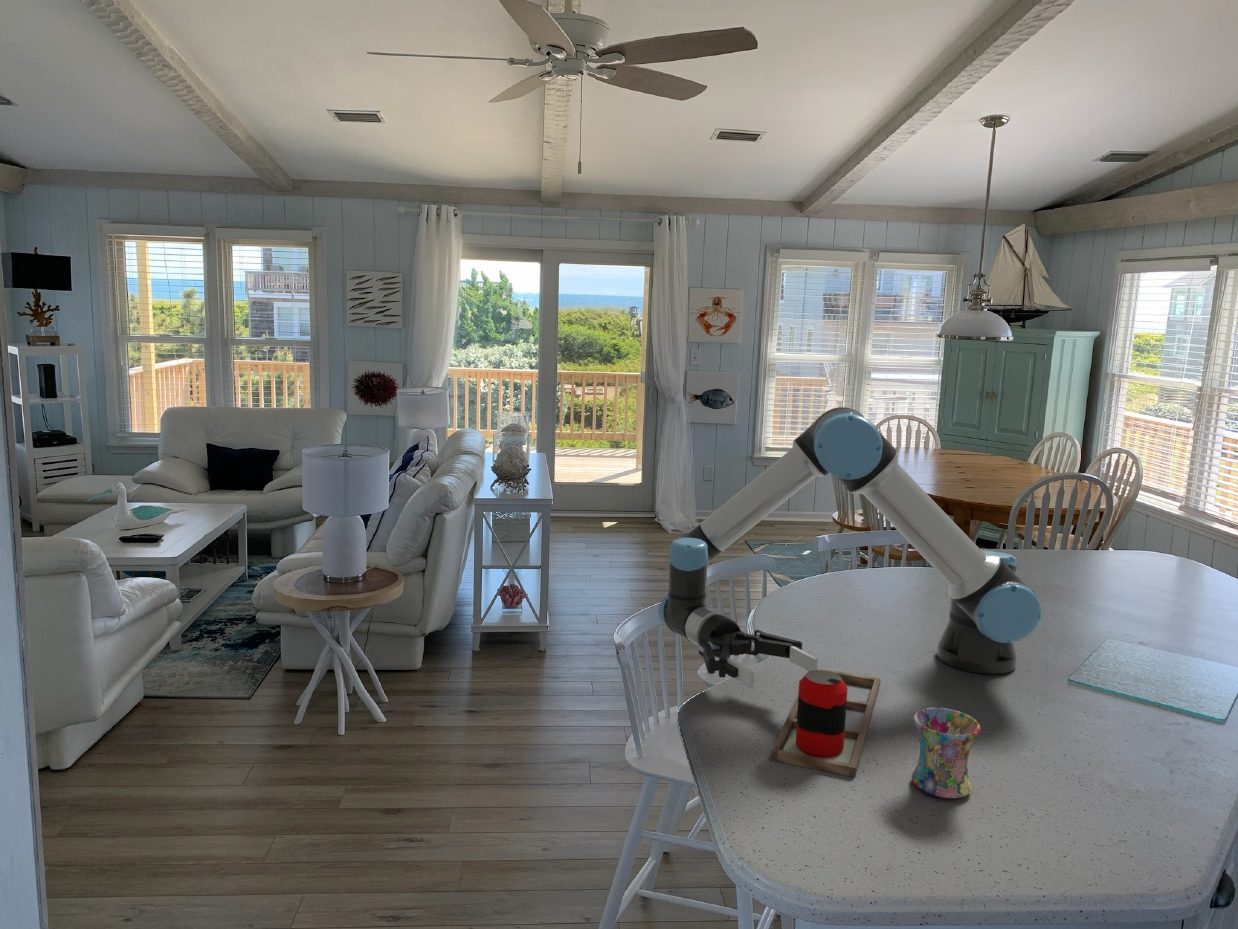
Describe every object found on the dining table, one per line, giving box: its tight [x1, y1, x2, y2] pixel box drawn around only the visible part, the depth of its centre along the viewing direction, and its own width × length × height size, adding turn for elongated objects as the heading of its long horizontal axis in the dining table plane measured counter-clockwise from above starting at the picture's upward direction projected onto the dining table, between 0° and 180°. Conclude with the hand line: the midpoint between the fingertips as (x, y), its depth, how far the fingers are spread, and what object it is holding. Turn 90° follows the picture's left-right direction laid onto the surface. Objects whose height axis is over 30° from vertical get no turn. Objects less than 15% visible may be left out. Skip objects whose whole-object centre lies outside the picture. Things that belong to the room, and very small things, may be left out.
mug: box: [911, 707, 981, 799], centre depth 130 cm, size 12×9×11 cm
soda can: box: [796, 669, 848, 758], centre depth 141 cm, size 8×8×12 cm
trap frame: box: [770, 667, 881, 778], centre depth 153 cm, size 13×37×2 cm, turn 158°
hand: (784, 673), depth 149 cm, fingers open, 13 cm apart
